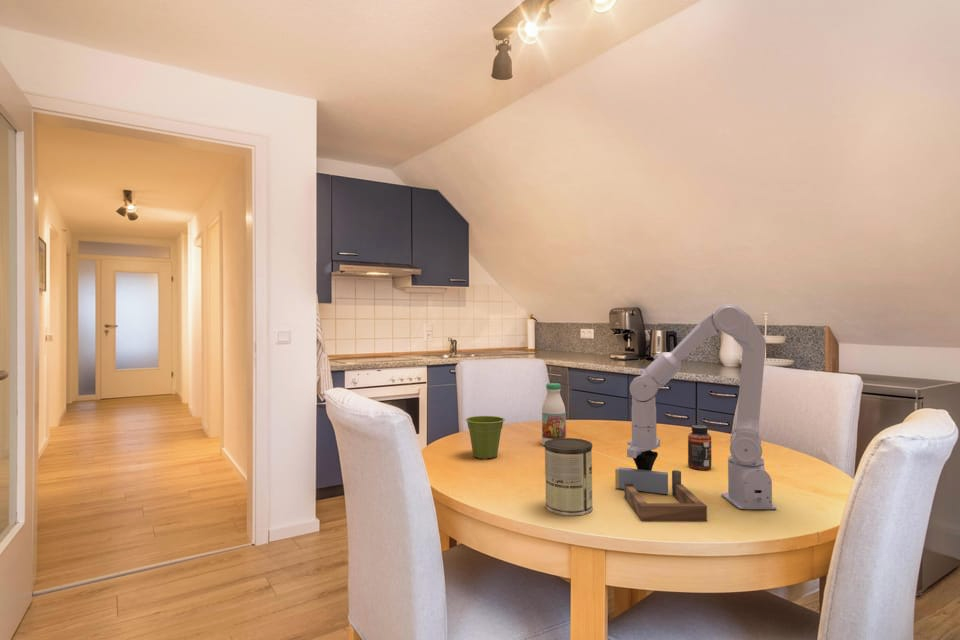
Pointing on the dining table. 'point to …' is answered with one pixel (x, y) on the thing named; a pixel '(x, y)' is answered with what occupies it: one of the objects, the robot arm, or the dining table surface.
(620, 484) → the gate
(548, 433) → the milk bottle
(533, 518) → the dining table surface
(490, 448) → the plant pot
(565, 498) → the coffee can
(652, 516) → the wooden u-shaped frame
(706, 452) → the supplement bottle
